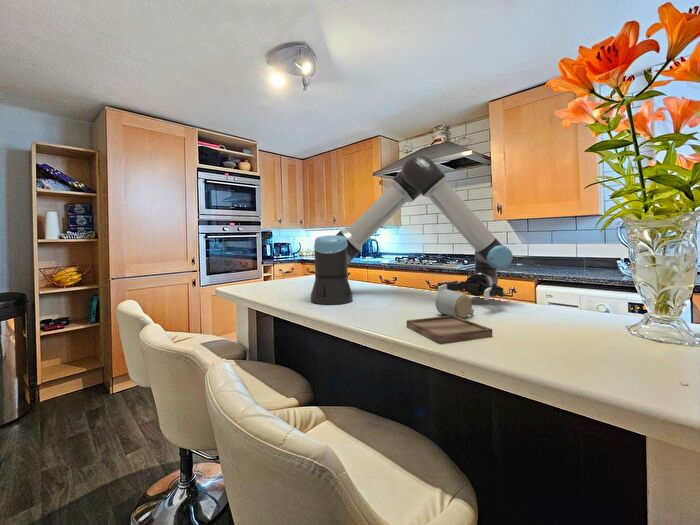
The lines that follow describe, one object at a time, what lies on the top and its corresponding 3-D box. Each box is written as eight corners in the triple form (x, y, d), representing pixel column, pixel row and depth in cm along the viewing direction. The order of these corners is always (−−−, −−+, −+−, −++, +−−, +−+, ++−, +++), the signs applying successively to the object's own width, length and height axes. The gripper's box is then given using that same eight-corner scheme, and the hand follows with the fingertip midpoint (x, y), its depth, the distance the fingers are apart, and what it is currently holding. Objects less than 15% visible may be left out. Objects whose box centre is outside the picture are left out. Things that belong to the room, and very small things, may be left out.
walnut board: (406, 326, 81) (406, 320, 81) (452, 321, 85) (452, 315, 85) (439, 344, 68) (439, 336, 67) (492, 336, 72) (492, 329, 72)
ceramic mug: (456, 321, 86) (457, 293, 85) (434, 315, 93) (435, 289, 92) (481, 316, 91) (481, 291, 91) (458, 311, 98) (459, 287, 97)
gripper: (518, 298, 106) (507, 310, 89) (443, 291, 120) (421, 300, 103) (518, 275, 105) (507, 283, 88) (444, 271, 120) (422, 277, 102)
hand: (461, 293), depth 95 cm, fingers open, 13 cm apart
